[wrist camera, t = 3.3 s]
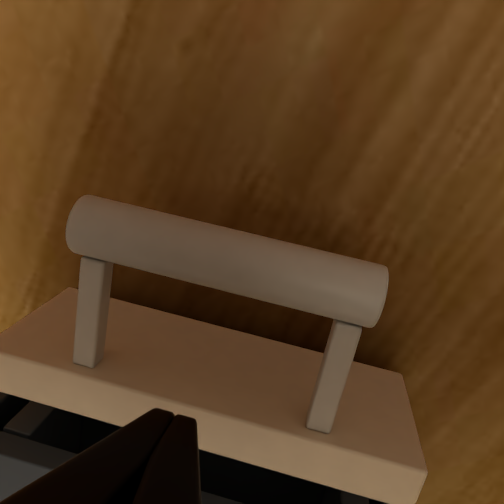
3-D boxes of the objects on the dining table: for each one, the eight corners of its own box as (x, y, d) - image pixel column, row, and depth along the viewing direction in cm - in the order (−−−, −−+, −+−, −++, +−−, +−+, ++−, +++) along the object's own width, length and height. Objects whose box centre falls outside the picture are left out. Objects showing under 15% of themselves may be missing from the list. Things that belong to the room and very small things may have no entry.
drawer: (77, 158, 14) (-24, 178, 10) (448, 244, 13) (501, 305, 9) (48, 568, 20) (-25, 685, 16) (303, 651, 19) (296, 800, 15)
